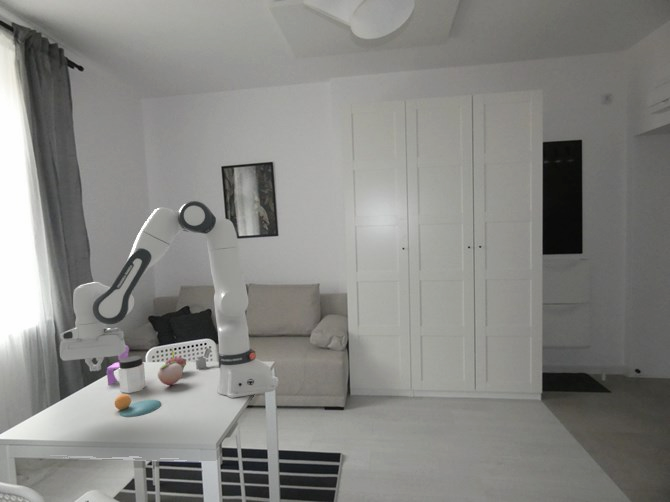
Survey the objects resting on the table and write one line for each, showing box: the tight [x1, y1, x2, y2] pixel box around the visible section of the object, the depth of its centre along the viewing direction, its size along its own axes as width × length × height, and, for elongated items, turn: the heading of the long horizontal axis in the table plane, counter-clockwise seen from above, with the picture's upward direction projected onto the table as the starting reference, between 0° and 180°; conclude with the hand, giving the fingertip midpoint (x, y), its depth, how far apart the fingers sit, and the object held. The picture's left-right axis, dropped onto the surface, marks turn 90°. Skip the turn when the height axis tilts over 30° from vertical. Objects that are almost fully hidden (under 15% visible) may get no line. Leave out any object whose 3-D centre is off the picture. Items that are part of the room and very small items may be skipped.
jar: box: [117, 355, 147, 394], centre depth 157 cm, size 9×8×12 cm
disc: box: [118, 399, 162, 418], centre depth 138 cm, size 13×13×1 cm
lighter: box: [195, 347, 212, 370], centre depth 179 cm, size 7×2×8 cm, turn 143°
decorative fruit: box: [157, 361, 184, 387], centre depth 158 cm, size 9×8×10 cm
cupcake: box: [164, 348, 187, 370], centre depth 172 cm, size 9×8×12 cm
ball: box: [114, 393, 132, 411], centre depth 138 cm, size 5×5×5 cm
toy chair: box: [106, 344, 130, 386], centre depth 166 cm, size 8×9×15 cm
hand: (95, 370), depth 137 cm, fingers closed
